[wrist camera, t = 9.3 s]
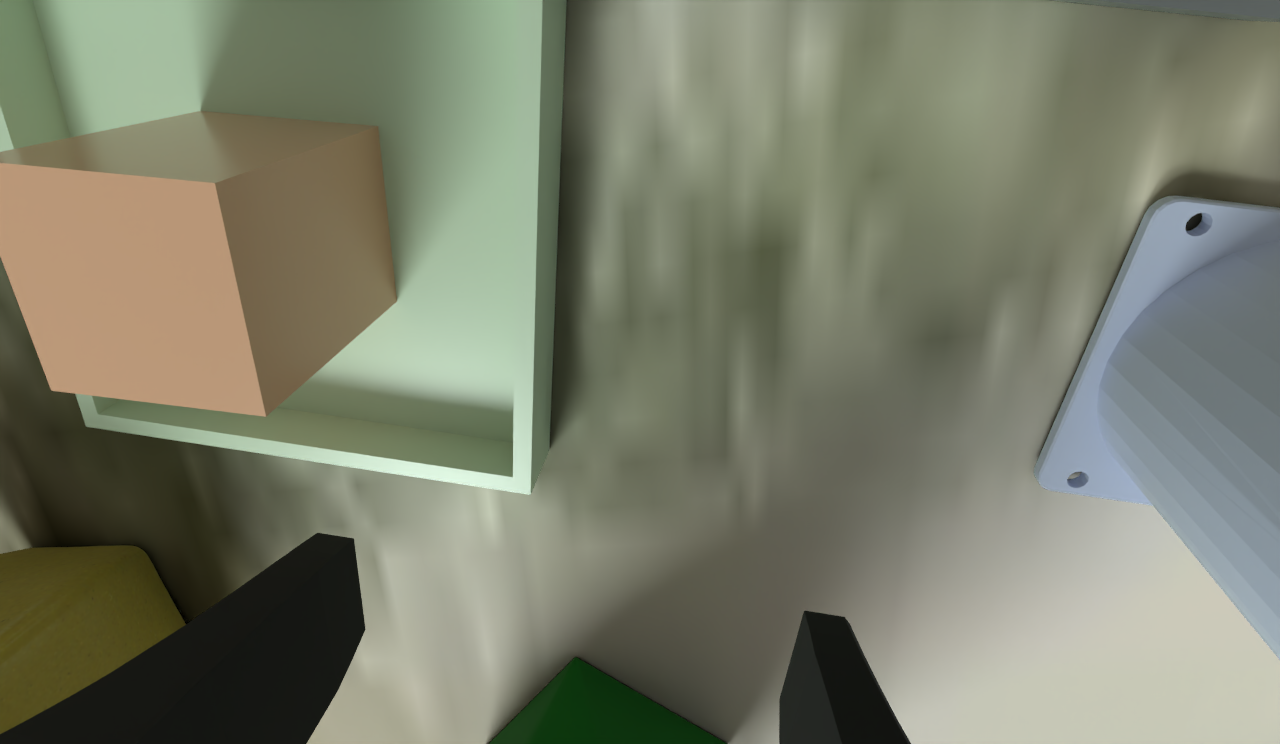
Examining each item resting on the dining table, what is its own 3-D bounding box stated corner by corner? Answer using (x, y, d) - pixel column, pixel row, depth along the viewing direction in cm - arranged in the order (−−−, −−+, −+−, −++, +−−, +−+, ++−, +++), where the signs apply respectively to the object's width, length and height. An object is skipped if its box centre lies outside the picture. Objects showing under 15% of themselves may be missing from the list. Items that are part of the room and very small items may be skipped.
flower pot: (-44, 503, 26) (-390, 726, 18) (165, 494, 24) (-111, 733, 16) (75, 672, 30) (-166, 916, 22) (262, 673, 28) (75, 936, 20)
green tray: (568, -49, 15) (544, -56, 13) (549, 449, 21) (530, 494, 19) (6, -106, 16) (-94, -121, 14) (142, 389, 22) (85, 426, 20)
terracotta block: (378, 126, 17) (214, 182, 12) (397, 301, 19) (265, 416, 14) (200, 110, 17) (-37, 159, 12) (238, 284, 19) (51, 390, 14)
